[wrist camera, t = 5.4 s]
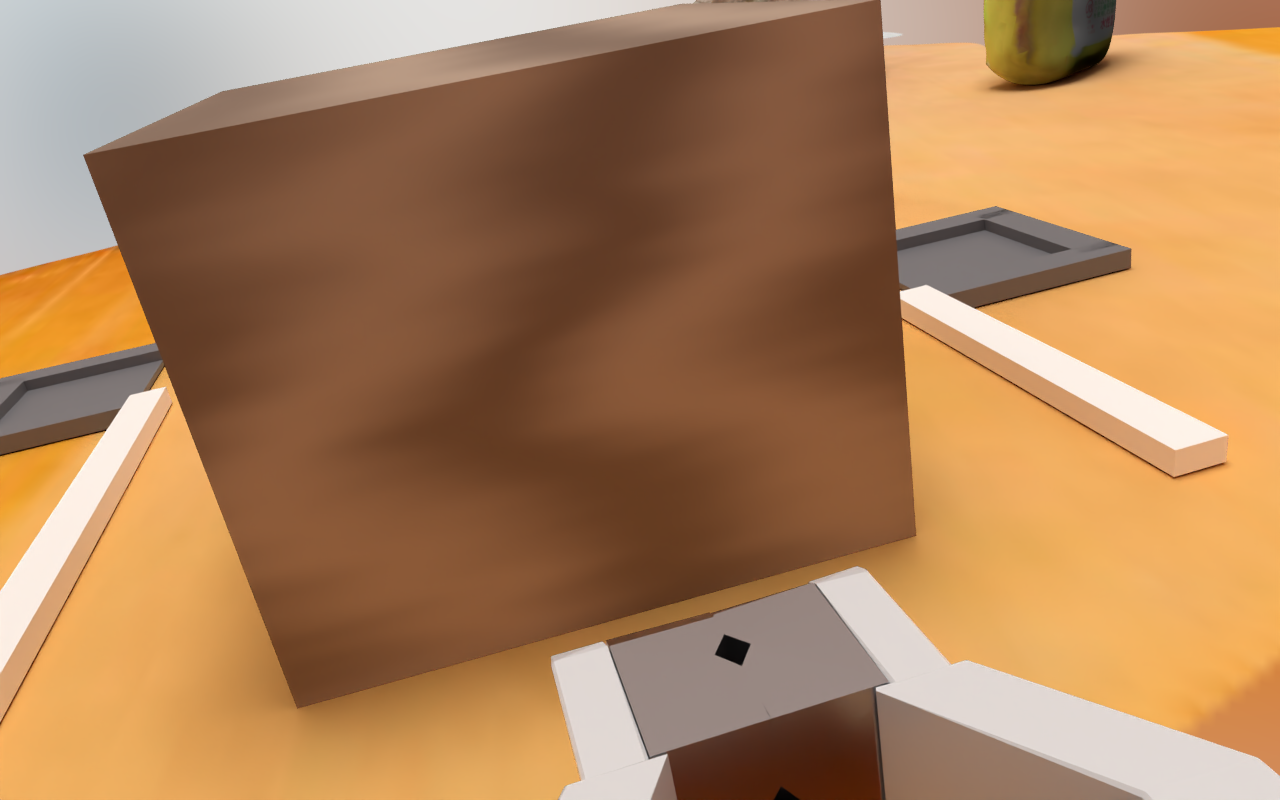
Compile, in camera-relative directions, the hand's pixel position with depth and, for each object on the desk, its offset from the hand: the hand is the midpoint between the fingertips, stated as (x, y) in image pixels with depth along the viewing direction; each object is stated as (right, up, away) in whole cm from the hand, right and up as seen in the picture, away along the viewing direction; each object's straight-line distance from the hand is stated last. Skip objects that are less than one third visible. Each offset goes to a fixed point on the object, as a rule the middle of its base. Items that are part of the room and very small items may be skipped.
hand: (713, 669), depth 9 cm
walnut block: (-2, 0, +15) cm, 15 cm away
